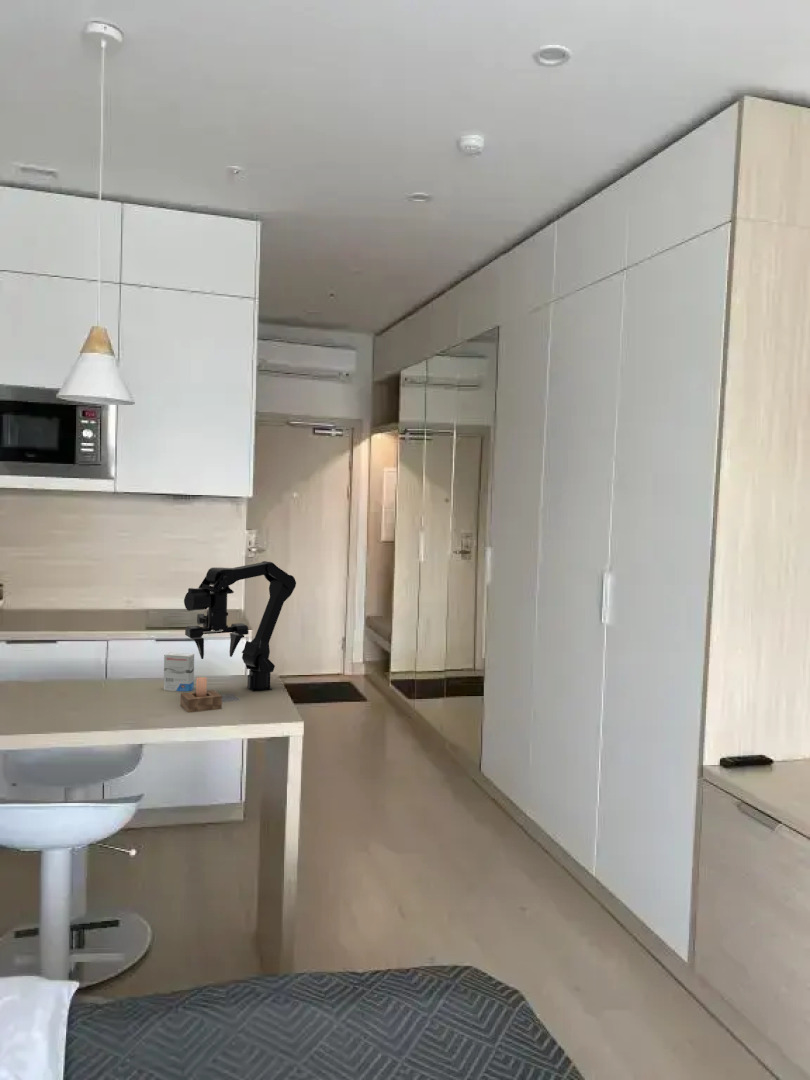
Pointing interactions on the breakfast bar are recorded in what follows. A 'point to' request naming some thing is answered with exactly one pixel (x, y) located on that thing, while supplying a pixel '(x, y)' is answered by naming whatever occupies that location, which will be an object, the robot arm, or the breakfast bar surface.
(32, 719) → the breakfast bar surface
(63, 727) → the breakfast bar surface
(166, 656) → the ink box
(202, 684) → the peg
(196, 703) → the hole block
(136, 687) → the breakfast bar surface
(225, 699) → the mat
